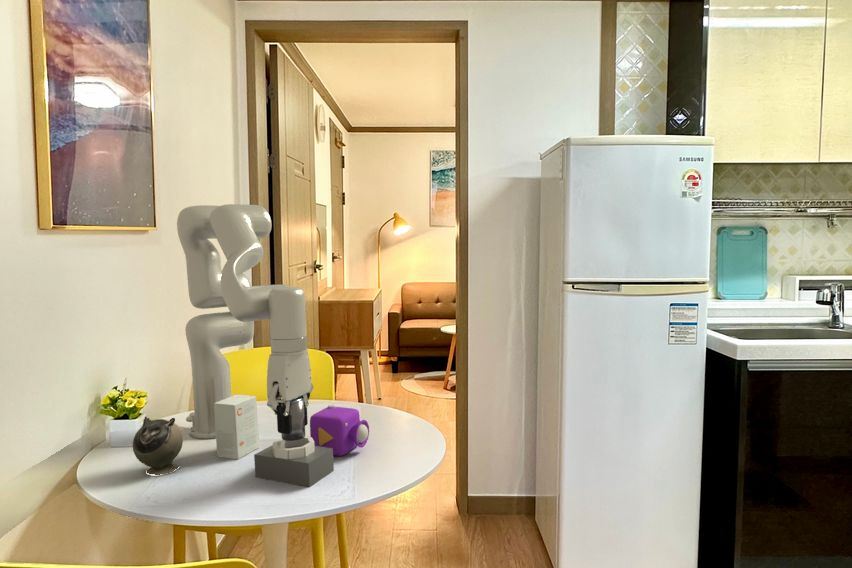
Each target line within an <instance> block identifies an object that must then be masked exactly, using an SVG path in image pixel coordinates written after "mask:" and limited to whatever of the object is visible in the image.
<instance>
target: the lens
mask: <svg viewBox="0 0 852 568" xmlns="http://www.w3.org/2000/svg"><path fill="white" fill-rule="evenodd" d="M281 400H282V398H281ZM281 406H282V407H283V408H284V403H281ZM288 415H291V429H292V432H291V433H290V434H284V433H280V434H281V435H280V436H281V438H282V439H283V440H286V441H295V440H300V439H302V438H304V437H305V436H306V426H305V415H304V399H303V398H302V397H298V398H295V399H293V400H291V401H290V407H289V414H288Z"/></svg>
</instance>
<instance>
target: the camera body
mask: <svg viewBox="0 0 852 568" xmlns="http://www.w3.org/2000/svg"><path fill="white" fill-rule="evenodd" d="M253 458H254V477H255V478H257V479H262V480H269V481H274V482H278V483H279V482H280V483H286V484H291V485H296V486H303V487H307V488H310V487H312V486H314V485H315V484H316V483H318V482H319V481H321V480H322V479H324V478H325V477H327V476H328V475H329V474H331V473H332V472H334V470H335V469H334V455H333V448H327V447H320V446H315V442H314V440H313V438H312V437H310V436H306V435H305V437H304V438H302V439H300V440H295V441H286V440H283V439H282V437H281V438H279V439H277V440H275V441H273V443H272V445H270V446H268V447H266V448H264V449H262V450H260V451H258V452H256V453H255V454H254V455H253Z"/></svg>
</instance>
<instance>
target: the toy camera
mask: <svg viewBox="0 0 852 568" xmlns="http://www.w3.org/2000/svg"><path fill="white" fill-rule="evenodd" d="M360 416H361V414H360V412H359V410H358V409H356V408H351V407H350V408H349V407H342V406H336V404H328V405H327V406H326V407H325V408H323V409H322V410H319V411H316V412H315V413H314V414H312V415H311V416H310V418H309V434H310V436H309V437H312V438H313V440H314V442H315V446H320V447H327V448H333V456H339V457H342V456H344V455H347V454H348V453H349V452H352V451H353V450H355V448H357V447H358V448H361V449H362V448H363V447H365V446H366V444H367V442H368V440H369V436H370V426H369V422H368V421H367V420H366V419H361V417H360Z"/></svg>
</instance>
